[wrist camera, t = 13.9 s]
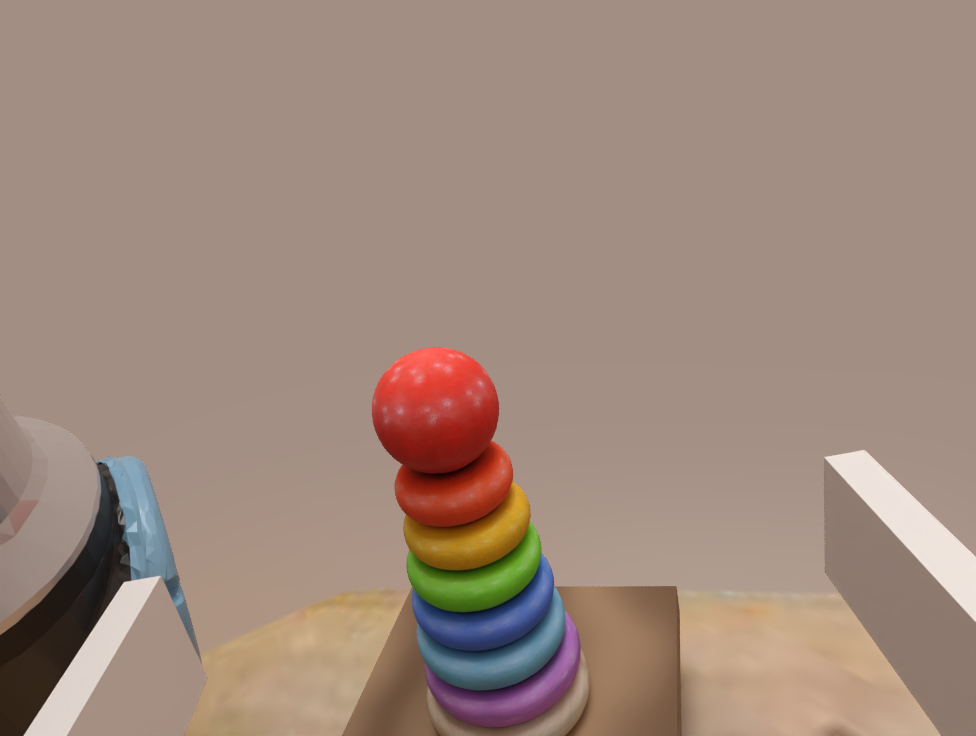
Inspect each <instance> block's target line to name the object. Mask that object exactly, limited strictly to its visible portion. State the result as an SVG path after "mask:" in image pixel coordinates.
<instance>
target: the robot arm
mask: <svg viewBox="0 0 976 736" xmlns="http://www.w3.org/2000/svg"><path fill="white" fill-rule="evenodd" d="M824 498H825V499H824V503H825V504H824V506H825V507H824V509H825V510H824V511H825V573H826V574H827V576H828V577H829V579H830V580H831V581H832V583H833V584H834V586H835V587H836V588H837V590H838V591H839V593H840V594H841V595H842V597H843V598H844V600H845V601H846V602H847V604H848V605H849V607H850V608H851V609H852V611H853V612H854V614H855V615H856V616H857V618H858V619H859V621H860V622H861V623H862V625H863V626H864V628H865V629H866V630H867V632H868V633H869V635H870V636H871V637H872V639H873V640H874V642H875V643H876V644H877V646H878V647H879V649H880V650H881V651H882V653H883V654H884V656H885V657H886V658H887V660H888V661H889V663H890V664H891V666H892V667H893V668H894V670H895V671H896V673H897V674H898V675H899V677H900V678H901V680H902V681H903V682H904V684H905V685H906V687H907V688H908V689H909V691H910V692H911V694H912V695H913V696H914V698H915V699H916V701H917V702H918V703H919V705H920V706H921V708H922V709H923V710H924V712H925V713H926V715H927V716H928V717H929V719H930V720H931V722H932V723H933V724H934V726H935V727H936V729H937V730H938V731H939V733H940V734H941V736H976V557H975V556H974V555H973V554H972V553H971V552H970V551H969V550H968V549H967V548H966V547H965V546H964V545H963V544H962V543H961V542H960V541H959V540H958V539H957V538H956V537H954V536H953V535H952V534H951V533H950V532H949V531H948V530H947V529H946V528H945V527H944V526H943V525H942V524H941V523H940V522H939V521H938V520H937V519H936V518H935V517H934V516H933V515H932V514H931V513H929V512H928V511H927V510H926V509H925V508H924V507H923V506H922V505H921V504H920V503H919V502H918V501H917V500H916V499H915V498H914V497H913V496H912V495H911V494H910V493H908V491H907V490H906V489H904V488H903V487H902V486H901V485H900V484H899V483H898V482H897V481H896V480H895V479H894V478H893V477H892V476H891V475H890V474H889V473H888V472H886V470H885V469H884V468H883V467H882V466H880V465H879V464H878V463H877V462H876V461H875V460H874V459H873V458H872V457H871V456H870V455H869V454H868V453H867V452H866V451H864V450H862V451H857V452H851V453H845V454H840V455H834V456H829V457H824ZM179 580H180V579H179V575H178V572H177V569H176V566H175V561H174V556H173V553H172V549H171V546H170V542H169V539H168V535H167V532H166V528H165V525H164V522H163V518H162V515H161V512H160V509H159V505H158V502H157V498H156V495H155V492H154V489H153V486H152V483H151V480H150V477H149V474H148V471H147V468H146V466H145V464H144V463H143V462H142V461H141V460H140V459H138V458H136V457H132V456H125V457H120V458H111V457H107V458H105V459H103V460H98V461H97V462H96V463H95V461H94V459H93V457H92V456H91V454H90V453H89V452H88V450H87V449H86V448H85V447H84V446H83V444H82V443H81V442H80V440H79V439H78V438H77V437H75V436H74V435H72V434H71V433H70V432H68V431H67V430H66V429H63V428H61V427H59V426H57V425H54V424H52V423H49V422H45V421H42V420H39V419H34V418H27V417H21V416H13V415H12V414H11V412H10V410H9V408H8V407H7V406H6V404H5V402H4V400H3V399H2V397H1V395H0V736H184V734H185V732H186V729H187V727H188V724H189V722H190V720H191V717H192V715H193V712H194V710H195V708H196V705H197V703H198V700H199V698H200V696H201V693H202V691H203V688H204V686H205V683H206V681H207V679H208V677H207V675H206V673H205V671H204V669H203V666H202V661H201V656H200V652H199V648H198V644H197V640H196V636H195V633H194V629H193V625H192V622H191V618H190V614H189V611H188V608H187V604H186V600H185V597H184V594H183V591H182V588H181V586H180V582H179Z"/></svg>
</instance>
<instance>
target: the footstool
mask: <svg viewBox="0 0 976 736" xmlns="http://www.w3.org/2000/svg"><path fill="white" fill-rule="evenodd" d="M555 588H556V589H557V590H558V592H559V594H560V596H561V599H562V601H563V604H564V609H565V611H566V612H567V613H568V614H569V616H570V617H571V618H572V620H573V622H574V624H575V626H576V628H577V631H578V634H579V639H580V645H581V650H582V652H583V653H584V656H585V658H586V661H587V664H588V668H589V676H590V686H589V695H588V699H587V703H586V705H585V708H584V710H583V713H582V714H581V716H580V718H579V720H578V721H577V723H576V724H575V725H574V726H573V728H572V729H571V730H570V731H569V732H568V733H567V734H566V735H565V736H681V704H680V613H679V604H678V596H677V588H676V586H659V587H658V586H636V587H555ZM412 591H413V587H412V588H411V591H410V593H409V595H408V597H407V599H406V601H405V603H404V605H403V607H402V610H401V612H400V614H399V616H398V618H397V620H396V622H395V624H394V627H393V629H392V631H391V633H390V635H389V637H388V639H387V641H386V644H385V646H384V648H383V650H382V652H381V654H380V656H379V658H378V660H377V663H376V665H375V667H374V669H373V671H372V673H371V675H370V677H369V680H368V682H367V684H366V686H365V688H364V690H363V692H362V694H361V697H360V699H359V701H358V703H357V705H356V707H355V709H354V711H353V713H352V716H351V718H350V720H349V722H348V724H347V726H346V728H345V730H344V733H343V735H342V736H440V734H439V733H438V731H437V730H436V728H435V727H434V725H433V723H432V721H431V718H430V714H429V711H428V705H427V687H428V684H427V681H426V677H425V662H424V660H423V658H422V656H421V654H420V651H419V648H418V643H417V624H418V622H417V620H416V618H415V615H414V612H413V608H412Z"/></svg>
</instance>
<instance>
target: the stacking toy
mask: <svg viewBox="0 0 976 736" xmlns="http://www.w3.org/2000/svg"><path fill="white" fill-rule="evenodd" d="M498 416H499V402H498V397H497V393H496V390H495V386H494V384H493V382H492V380H491V378H490V377H489V375H488V374H487V372H486V371H485V370H484V369H483V367H482V366H481V365H480V364H479V363H478V362H476V361H475V360H474V359H472V358H471V357H469V356H467V355H465V354H463V353H461V352H459V351H456V350H453V349H449V348H441V347H432V348H425V349H420V350H417V351H415V352H412V353H409V354H407V355H405V356H403V357H401V358H400V359H398V360H397V361H396V362H394V363H393V364H392V365H391V366H390V367H389V368H388V369H387V371H386V372H385V373H384V375H383V376H382V377H381V379H380V381H379V382H378V384H377V387H376V389H375V393H374V397H373V401H372V417H373V424H374V427H375V431H376V433H377V436H378V438H379V440H380V441H381V443H382V445H383V447H384V448H385V449H386V451H388V453H389V454H390V455H392V457H393V458H394V459H396V460H397V461H398V462H400V463H401V464H402V466H401V468H400V469H399V471H398V474H397V477H396V480H395V495H396V499H397V501H398V503H399V506H400V507H401V509H402V510H403V511H404V512H405V514H406V516H405V519H404V536H405V540H406V543H407V545H408V547H409V549H410V550H409V553H408V557H407V573H408V577H409V580H410V582H411V585H412V587H413V591H412V608H413V612H414V615H415V618H416V620H417V622H418V624H417V643H418V648H419V651H420V654H421V656H422V658H423V660H424V662H425V677H426V681H427V684H428V687H427V705H428V711H429V714H430V718H431V721H432V723H433V725H434V727H435V728H436V730H437V731H438V733H439V734H440V736H565V735H566V734H567V733H568V732H569V731H570V730H571V729H572V728H573V726H574V725H575V724H576V723H577V721H578V720H579V718H580V716H581V714H582V713H583V710H584V708H585V705H586V703H587V699H588V695H589V686H590V676H589V668H588V664H587V661H586V658H585V656H584V653H583V652H582V650H581V645H580V639H579V634H578V631H577V628H576V626H575V624H574V622H573V620H572V618H571V617H570V616H569V614H568V613H567V612H566V611H565V609H564V604H563V601H562V599H561V596H560V594H559V592H558V590H557V589H556V588H555V586H554V577H553V573H552V570H551V567H550V565H549V563H548V561H547V559H546V558H545V557H544V555H543V554H542V553H541V542H540V538H539V535H538V532H537V530H536V528H535V527H534V525H533V524H532V523H531V522H530V505H529V502H528V499H527V497H526V495H525V494H524V492H523V491H522V490H521V488H520V487H519V486H517V485H516V484H515V483H514V482H513V481H512V480H513V468H512V464H511V461H510V458H509V456H508V455H507V453H506V452H505V451H504V450H503V448H501V447H500V446H499V445H498V444H496V443H495V442H493V441H491V439H492V438H493V435H494V433H495V430H496V427H497V422H498Z"/></svg>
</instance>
